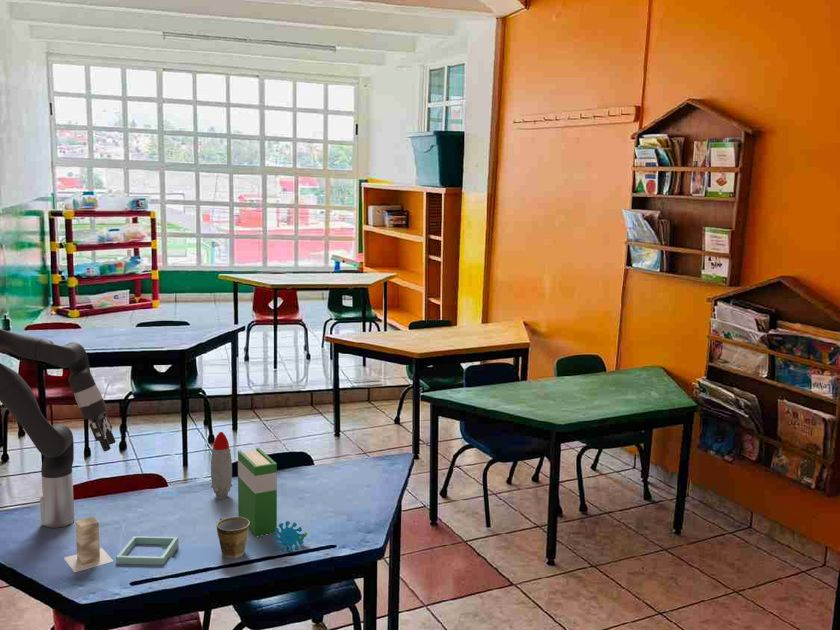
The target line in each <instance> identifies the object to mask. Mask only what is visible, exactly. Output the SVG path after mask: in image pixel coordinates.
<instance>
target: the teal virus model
mask: <svg viewBox="0 0 840 630" xmlns="http://www.w3.org/2000/svg"><path fill="white" fill-rule="evenodd" d="M284 523H285V528H284V527H283V526H284ZM284 523H281V522H280V523H279V524H278V527H277V528H276V529H275V531H274V532H275V533H274V535H273V540H278V541H276V543H275V545H276V547H280V545H284V546H281V548H280V550H281V551H282V552H285V551H286V549H287V547H290V548H288V550H287V552H288V553H292V552H293V551H294V550H295V551H299V550H300V546H302V545H303V544H304V539H305V538H306V537H307V536H308V532H303V533H301V532H302V530H303V529H302V526H299V527H298V528H296V527H297V523H296V522H294V521H293V523H292V525H291V526H290V527H289V525H290V524H291V521H289V520H286V522H284ZM280 531H281V532H280ZM298 544H299V545H298ZM293 546H295V547H294V549H293Z"/></svg>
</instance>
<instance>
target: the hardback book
mask: <svg viewBox="0 0 840 630" xmlns="http://www.w3.org/2000/svg"><path fill="white" fill-rule="evenodd" d="M277 465H278V463H277V462H276V461H274V460H273V459H272V458H271V457H270V456H269V455H268V454H267V453H266V452H264V451H263V450H262V448H260V447H256V448H255V450H251V451H244V452H243V451H242V450H238V451H237V489H238V492H237V498H238V499H237V501H238V502H237V503H238V504H237V506H238V507H237V508H238V512H237V513H238V516H237V517H243V518H246V519H248V520H249V522H250V525H249V532H250V531H251V532H252V533H251V532H250V533H251V534H252V535H253V537H254V538H258V537H257V536H259V537H262V536H261V535H263V536H267V535H266V534H268V535H271V534H270V533H273V534H276V533H275V532H274V531H275V529H276V528H278V522H277V521H278V520H277V519H278V515H277V514H278V511H277V510H278V504H277V503H278V502H277V501H278V500H277V499H278V488H277V487H278V483H277V482H278V479H277V478H278V473H277V472H278V469H277V468H278V466H277Z"/></svg>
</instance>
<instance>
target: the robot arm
mask: <svg viewBox="0 0 840 630" xmlns="http://www.w3.org/2000/svg"><path fill="white" fill-rule="evenodd" d="M0 349H2V350H3V349H4V350H7V351H8V352H10V353H12V354H14V355H16V356H18V357H21V358H24V359H29V360H35V361H39V362H40V361H41V362H45V363H47V364H49V365H52V366H54V367H59V368H65V369H66V368H68V369H69V373H70V375H69V377H68V378H67V379H68V383H69V386H70V388H71V390H72V393H73V394H74V399H75V402H76V404H77V405H78V406H77V407H78V409H79V410H80V413H81V415H82V417H83V419H84V420H89V419H90V420H91V423H89V428H90V430H91V432H92V434H93V437H94V440H95V441H96V442H98V443H99V444H100V446H101V449H102V451H103V452H108V451H109V450H111V449H112V448H111V445H113V444H115V443H116V442H117V441H116V439H115V436H114V434H113V426H112V423H111V421H110V419H109V417H108V414H107V413H106V412H107V411H108V408H107V405H106V403H105V400H104V398H103V396H102V393H101V390H100V389H99V388H98V386H97V384H96V382H95V379H94V377H93V375H92V373H91V366H90V362H89V357H88V353H87V352H86V349H85V347H83V345H81V344H80V343H79V342H69V343H67V344H65V345H60V344H59V345H58V344H56V343H54V342H53V341H51V340H49V339H46V338H40V337H34V336H29V335H24V334H20V333H17V332H16V333H15V332H12V331H8V330H6V329H2V328H0ZM0 403H1V404H2V405H3V406H4V407H5V408H6V409H7V411H8V412H9V413H10V414H11V415H12V418H14V419H15V420H16V421H17V423H18V424H19V425H20V426H21V427H22V429H23V430H24V431H25V433H26V434H27V436H28V437H29V439H30V441H31V442H32V443H33V445H34V446H35V448H36V450H37V451H38V452H39V453H40V454H41V455H43V457H44V458H43V460H42V461H43V462H42V465H41V467H40V468H41V469H40V472H41V489H42V491H41V492H42V493H41V494H42V495H41V497H39V507H40V508H39V509H40V526H45V527H47V528H52V529H53V528H54V529H55V528H62V527H66V526H68V525H71V524H72V523H74V522H75V505H74V481H73V465H74V459H75V457H74V456H75V455H74V454H75V453H74V448H75V447H74V446H75V445H74V435H73V432H72V430H71V428H69V427H68V426H67V425H66V424H61V423H56V424H52V425H51V423H50V422H49V421H48V420H47V418H46V417H45V416H44V414H43V413H42V410H41V409H40V406H39V404H38V401H37V398H36V395H35V394H34V392H33V390H32V388H31V387H30V385H28V383H27V382H26V381H25V379H24V378H23V377H22V376H21V375H20V374H19V373H18V372H16V371H15V370H14V369H12V368H10V367H9V366H7V365H4V364H2V362H0Z"/></svg>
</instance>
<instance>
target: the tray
mask: <svg viewBox="0 0 840 630" xmlns="http://www.w3.org/2000/svg"><path fill="white" fill-rule="evenodd" d="M136 544H138V545H139V544H140V545H158V546H159V547H160V548H161V549H162V550H163V553H162V555H161V556H153V555H151V556H149V555H128V554H129V553H130V552H131V550H132V549H133V548H134V547H135V545H136ZM178 549H179V536H153V535H152V536H149V535H147V536H146V535H143V536H142V535H133V536H132V538H131V539H129V541H128V542H127V543H126V545H125V546H124V547H123V548H122V549H121V551H120V552H119V553H118V554H116V555H117V556H115V564H116V565H117V564H118V565H153V566H155V565H157V566H158V565H163V566H164V565H165V563H166V562H167V560H168V559H169V558H172V557H174V555H175V554H176V552H177V550H178Z"/></svg>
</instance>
